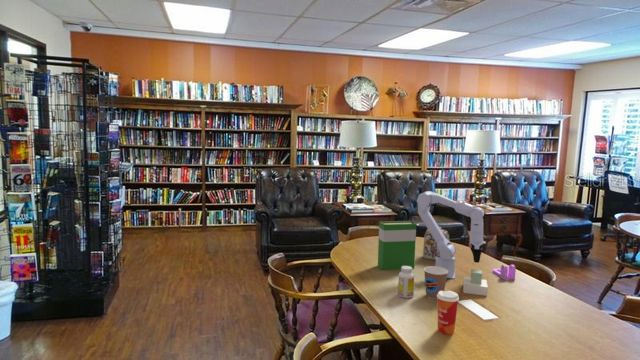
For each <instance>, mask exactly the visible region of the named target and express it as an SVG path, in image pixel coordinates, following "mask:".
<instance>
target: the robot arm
mask: <svg viewBox="0 0 640 360" xmlns="http://www.w3.org/2000/svg"><path fill="white" fill-rule="evenodd" d="M416 203H417V213H418V215H419V217H420V219H421V220H422V222H423V223H424V225H425V226H426V228H427V230H429V231H430V233H431V235H432V236H433V238H434V240H435V241H436V243H437V247H438V250H439V253H440V257H436V260H435V265H434V266H437V267H442V268H445V269H447V270H448V273H447V278H446V279H455V278H456V273H455V268H456V267H455V266H456V265H455V264H456V263H455V262H456V257H455V254H456V253H457V248H456V246H455V245H454V244H453V243H451V241H450V239H449V240H448V239H446V238H445V236H444V234H443V233H442V231H441V230H440V228H439V227H440V226H439V225H438V223H437V221H436V219H434V217H433V216H432V214H431V212H430V210H431V206H432V204H438V203H439V204H441V205H444V206H447V207H450V208H453V209H454V210H455V212H456V213H458V214H461V215H463V216H466V217H468V218H469V217H470V241H469V242H470V243H469V244H470V246H471V247H470V251H471V253H472V257H473V262H474V263H480V260H481V255H482V252H483V251H484V248H482V247H484V245H485V244H486V243H487V242H486V241H485V240H484V218H483V217H485V211H484V209H483V208H481V207H480V206H476V205H474V204H473V205H472V204H470V203H467V201H465V200H460V201H455V200H453V199H451V198H448V197H446V196H444V195H442V194H440V193H437V192H433V191H430V190H426V191H424V192H421V193H420V194H419V195H418V197H417V200H416Z"/></svg>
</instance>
